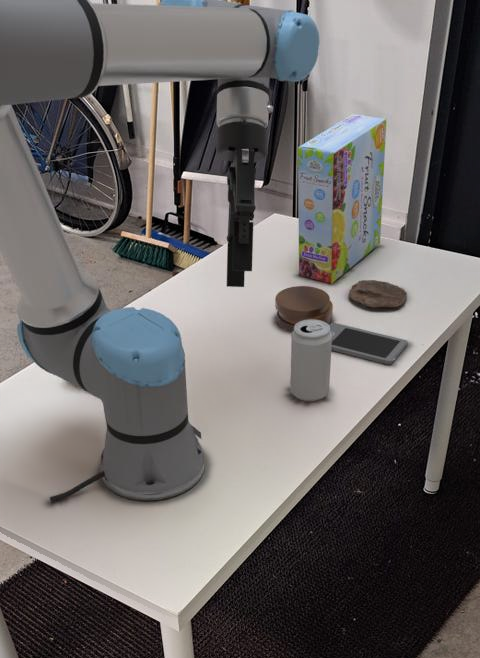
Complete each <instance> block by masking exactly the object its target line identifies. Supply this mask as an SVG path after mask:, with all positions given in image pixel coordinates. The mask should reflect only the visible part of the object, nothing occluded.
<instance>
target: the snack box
mask: <svg viewBox="0 0 480 658" xmlns="http://www.w3.org/2000/svg"><path fill="white" fill-rule="evenodd" d="M386 135H387V118H385V117H383V118H382V117H375V116H369V115H368V116H367V115H362V114H356V113H352V114H350V115H348V116H347V117H345V118H343V119H341V120H340V121H338V122H337V123H335V124H334V125H332V126H330V127H329V128H327V129H325V130H324V131H322V132H321V133H319V134H317V135H315V136H314V137H312V138H311V139H309V140H307V141H306V142H304V143H302V144H301V145H299V146H298V147H297V188H298V190H297V191H298V194H297V195H298V197H297V198H298V199H297V201H298V276H299V277H303V278H308V279H312V280H316V281H320V282H324V283H327V284H331V285H333V284H334V283H335V282H336V281H337V280H339V278H341V277H342V276H343V275H344V274H345V273H347V271H349V270H351V269H352V267H354V266H355V265H356V264H357V263H359V262H360V261H361V260H362V259H363V258H364V257H365V256H367V255H368V254H369V253H370V252H371V251H372V250H374V249H375V248H376V247H377V246H379V245H380V244H381V233H382V215H383V214H382V211H383V196H384V195H383V194H384V193H383V192H384V175H385V174H384V173H385V156H386V155H385V154H386Z"/></svg>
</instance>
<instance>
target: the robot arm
mask: <svg viewBox="0 0 480 658" xmlns="http://www.w3.org/2000/svg"><path fill="white" fill-rule="evenodd" d="M319 46H320V32H319V29H318V26H317V24H316V22H315V20H314V19H313V18H312V17H311V16H310V15H308V14H305V13H301V12H296V11H295V10H293V9H292V10H291V9H286V10H285V9H279V8H272V7H264V6H257V5H250V4H245V3H240V2H233V1H228V0H227V1H226V0H161V2H160V3H159V5H158V4H157V5H156V4H133V3H131V4H130V3H128V4H127V3H123V4H122V3H99V2H98V3H95V2H91V0H0V256H1V257H2V259H3V261H4V263H5V265H6V267H7V269H8V271H9V273H10V275H11V277H12V279H13V281H14V283H15V285H16V288H17V289H18V292H19V294H20V298H19V300H18V302H17V313H18V319H19V323H18V324H17V325H16V331H17V337H18V342H19V344H20V347H21V349H22V350H23V352H24V353H25V355H26V356H27V357H28V358H29V359H30V360H31V362H33V363H34V364H36V365H37V367H39V368H40V369H42V370H43V371H45V372H47V373H49V374H52V375H53V376H55V377H58V378H60V379H61V380H64V381H65V382H67V383H69V384H71V385H73V386H75V387H77V388H79V389H80V390H83V391H85V392H86V393H88V394H90V395H92V396H94V397H96V398H98V399H100V401H101V403H102V405H103V406H102V407H103V413H104V418H105V419H104V420H105V424H106V433H105V437H104V446H103V449H102V451H101V454H100V463H99V467H100V468H99V469H100V472H98V473H97V474H94V475H93V476H91V477H89V478H87V479H86V480H84V481H82V482H81V483H79V484H77V485H76V486H74V487H72V488H71V489H69V490H67V491H64V492H62V493H60V494H56V495H52V496H49V501H50V503H54V502H57V501H61V500H64V499H66V498H69V497H71V496H73V495H74V494H76V493H78V492H79V491H81V490H83V489H84V488H87V487H88V486H90V485H91V484H94V483H95V482H97V481H99V480H100V479H102V481H103V484H105V486H106V487H107V488H108V489H109V490H110V491H112V492H113V493H115V494H117V495H118V496H120V497H123V498H126V499H131V500H136V501H159V500H165V499H169V498H174V497H176V496H179V495H180V494H183V493H185V492H186V491H188V490H190V489H191V488H192V487H194V486H195V485H196V484H197V483H198V482H199V481H200V479H201V478H202V476H203V474H204V472H205V455H204V452H203V448H202V445H201V443H200V441H199V439H200V440H202V432H201V431H200V430H199V429H197V428H196V427H195V426H194V425H193V424H191V423H190V422H191V421H189V410H188V409H189V408H188V393H187V391H188V390H187V375H186V372H187V371H186V353H185V349H184V347H183V341H182V336H181V333H180V330H179V329H178V327H177V325H176V324H175V323H174V322H173V320H172V319H170V318H169V317H167V316H166V315H165V314H162V313H161V312H158V311H156V310H154V309H151V308H145V307H142V308H140V309H136V308H135V307H134V306H133V307H132V306H130V307H129V306H128V307H120V308H116V309H113V310H110V308H109V307H108V306H107V304H106V301H105V298H104V296H103V294H102V291H101V289H100V286H99V284H98V282H97V280H96V279H95V277H93V276H92V275H91V274H89V273H88V272H85V271H81V269H80V268H79V265H78V263H77V259H76V257H75V255H74V252H73V251H72V248H71V245H70V243H69V241H68V238H67V235H66V232H65V230H64V229H63V226H62V224H61V221H60V219H59V217H58V214H57V211H56V209H55V207H54V204H53V202H52V200H51V197H50V194H49V192H48V190H47V188H46V187H47V186H46V185H45V182H44V180H43V178H42V176H41V173H40V170H39V168H38V165H37V163H36V160H35V158H34V156H33V154H32V152H31V149H30V146H29V144H28V142H27V139H26V136H25V134H24V132H23V130H22V127H21V125H20V122H19V120H18V117H17V115H16V113H15V111H14V107H13V106H14V105H24V104H31V103H38V102H39V103H40V102H50V101H59V100H69V99H82V98H87V97H89V96H91V95H92V94H93V93H95V92H96V90H97V89H98V87H101V86H102V87H104V86H105V87H107V86H121V85H123V86H124V85H135V84H136V85H138V84H139V85H141V84H157V83H173V82H174V83H176V82H192V81H209V80H210V81H211V80H217V95H216V120H215V121H216V126H217V127H218V128H217V129H216V142H215V145H216V146H215V153H216V155H217V157H218V158H219V159H221V160H223V161H226V162H230V163H232V166H228V170H227V174H226V184H227V186H228V187H227V201H228V218H227V219H228V221H227V235H226V241H227V249H226V250H227V252H226V253H227V254H226V287H231V288H245V273H246V272H253V252H254V250H253V249H254V248H253V247H254V244H253V243H254V222H253V221H254V218H255V211H256V207H257V206H256V201H255V199H256V198H255V197H256V196H255V189H256V177H257V168H256V167H255V163H258V162H261V161H263V160H265V159H266V158H267V157H268V153H269V130H267V128H268V127H269V116H270V115H269V114H271V113H273V112H274V106H273V105H271V104H269V102H270V79H276V80H278V81H280V82H285V81H286V82H300V81H303V80H305V79H306V78H307V77H308V76H309V75H310V74H311V73H312V71H313V69H314V67H315V65H316V63H317V61H318V57H319V50H320V49H319V48H320V47H319ZM198 438H199V439H198Z"/></svg>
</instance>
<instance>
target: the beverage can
mask: <svg viewBox="0 0 480 658" xmlns="http://www.w3.org/2000/svg"><path fill="white" fill-rule="evenodd" d="M329 325H330V324H329ZM329 325H328V324H327V323H326V322H323V321H320V320H314V319H310V320H303V321H300V322H298V323H297V324H296V325H295V326H294V331H293V332H291V335H290V337H291V338H290V339H291V340H290V342H291V343H290V381H289V382H290V383H289V385H290V387H289V389H290V390H289V391H290V392H291V394H292V395H293V396H294V397H295V398H296V399H298V400H300V401H304V402H315V401H319V400H321V399H323V398H325V397H326V396H328V394H329V391H330V379H331V365H332V364H331V363H332V350H331V347H332V333H331V331H330V326H329Z"/></svg>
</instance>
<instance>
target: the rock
mask: <svg viewBox="0 0 480 658" xmlns="http://www.w3.org/2000/svg"><path fill="white" fill-rule="evenodd" d="M348 296H349V298H350V299H351V300H352V301H354V302H356V303H359V304H361V305H364V306H366V307H369V308H397V307H400V306H401V305H402V304H404V303H405V301H406V299H407V298H408V293H407V291H406V290H405V289H403V288H401V287H399V286H398V285H395V284H392V283H389V282H387V281H381V280H375V279H367V280H365V279H363V280H359V281H357V282H356V283H355V284H353V285H351V289H349V291H348Z"/></svg>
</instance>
